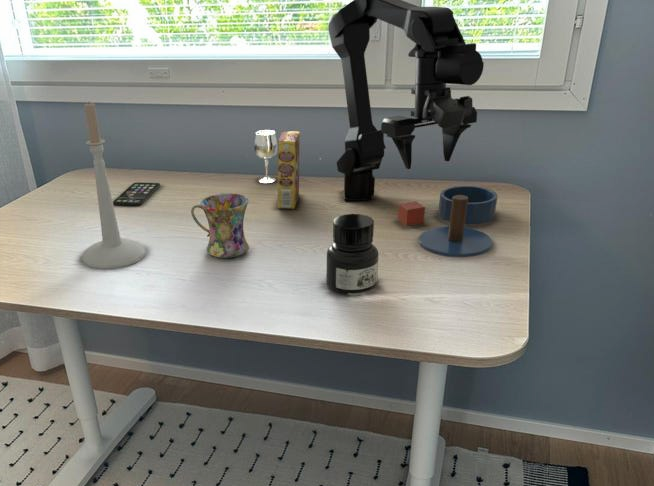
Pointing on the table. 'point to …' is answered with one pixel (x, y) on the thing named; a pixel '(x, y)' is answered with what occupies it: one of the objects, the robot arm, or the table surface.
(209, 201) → the mug
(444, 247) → the tin lid
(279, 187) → the candy box
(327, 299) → the table surface
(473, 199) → the tin
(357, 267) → the ink bottle
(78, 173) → the table surface
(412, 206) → the block
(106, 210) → the candlestick
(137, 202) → the smartphone
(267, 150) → the wineglass
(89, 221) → the table surface
